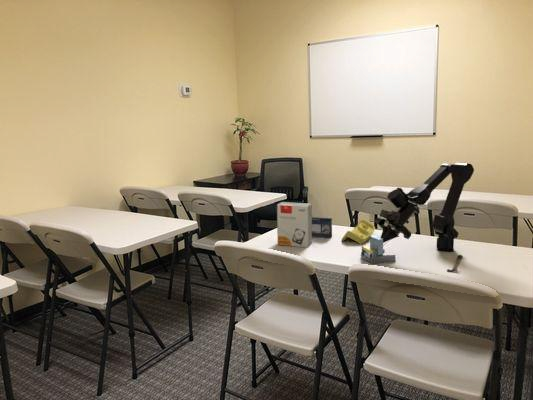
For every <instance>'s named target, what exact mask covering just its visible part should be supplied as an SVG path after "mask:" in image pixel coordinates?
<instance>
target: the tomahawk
mask: <svg viewBox="0 0 533 400" xmlns="http://www.w3.org/2000/svg"><path fill="white" fill-rule="evenodd" d="M463 257H464V256H463V255H462V254H458V255H457V258H456V260H455V262H454V265H453V267H452V269H449V268H447V270H446V272H448V273H453V274H459V275H460V273H461V272H460V271H458V269H457V268H458V266H459V265H460V262H461V261H462V258H463Z"/></svg>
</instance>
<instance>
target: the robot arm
mask: <svg viewBox="0 0 533 400" xmlns="http://www.w3.org/2000/svg"><path fill="white" fill-rule="evenodd" d="M474 171H475V167H474V166H473V164H471V163H468V162H456V163H454V164H451V163H442V164H441V165H440V166H439V168H437V170H435V172H433V174H432V175H431V176H430V177H428V178H427V179H426V181H424V182H423V183H421V184H420V185H418V186H416V187H414V188H413V189H411V190H410V191H409V192H407V193H405V191H404V190H403V188H401V187H397V188H396V189H393V190H392V191H390V192H389V193H388V194H387V196H386V197H387V200H388V201H389V202H390V203H391V204H392V205H393V206H394V207H395V208H396V209H398V210H396V211H395V210H391V211H388V210H385V209H381V211H380V214H379V217H378V216H377V218H375V220H374V222H375V223H376V224H377V225H378V226H379V227H380V228H381V229H382V232H381V235H380V236H379V237H380V238H382V239H383V244H385V243H386V242H388V241H390V240H393V239H396V238H399V237H400V234H402V235H403V238H404V239H407V240H409V239H410V238H411V237H412V232H411V231H410V230H409V229H408V228H407V227H406V226H405V224H409V223H410V221H409V219H410V218H411V217H412V216H413V215H414V214H415V213H416V214H418V215H419V214H420V212H421V211H420V207H419V206H423V205H425V204H426V203H427V202H428V201H429V199H431V195H432V192H433V191H434V190H435V189H436V188H437V187H439V185H440V184H441V183H443V182H444V180H445V179H447V177H449V176H451V177H450V178H451V181H452V182H451V184H450V187H449V189H448V192H447V196H446V199H445V201H444V205H443V207H442V210H441V212H440V213H439V214H435V215H434V218H433V220H432V222H431V223H432V229H433V230H434V234H435V235H437V238H436V249H437V251H438V252H439V251H441V252H452V253H453V252H454V251H455V250H454V249H455V248H454V242H455V239H457V238H458V237H459V232H458V231H457V230H456V229H455V225H456V224H455V223H456V221H455V218H454V215H455V212H456V209H457V206H458V203H459V200H460V197H461V194H462V192H463V189H464V186H465V185H466V184H467V183H468V182H469V181H470V180H471V179H472V176H473V175H474ZM416 205H418V206H416Z"/></svg>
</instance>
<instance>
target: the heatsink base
mask: <svg viewBox="0 0 533 400" xmlns="http://www.w3.org/2000/svg"><path fill="white" fill-rule="evenodd" d="M366 251H367V252H369V253H371V254H372V257H371V259H370V258H368V257H366V256H364V252H366ZM360 258H361V259H362V260H364V261H365V262H367V263H369V264H371V265H377V264H383V263H384V262H385V263H389V262H396V259H397V258H396V254H394V253H391V254H390V253H388V252H386V251H385V248H383V256H377V251H375V250H373V249H371V248H370V246H369V247H368V246H367V245H362V246H361V252H360Z"/></svg>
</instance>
